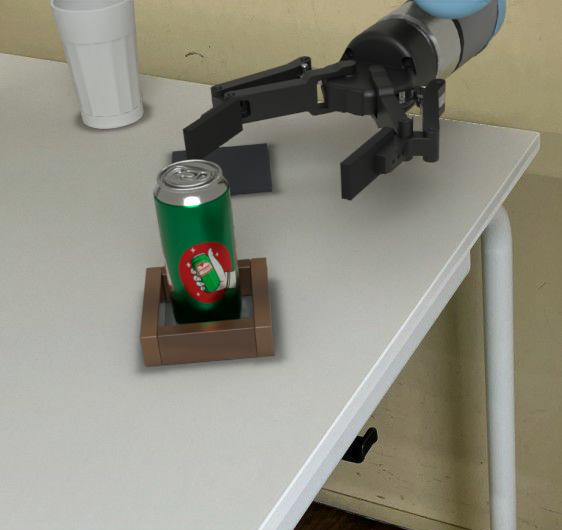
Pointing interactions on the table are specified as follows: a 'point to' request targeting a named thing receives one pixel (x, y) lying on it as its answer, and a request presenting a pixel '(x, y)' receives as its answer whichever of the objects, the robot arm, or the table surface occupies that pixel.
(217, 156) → the mat
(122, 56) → the cup
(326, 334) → the table surface
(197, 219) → the soda can
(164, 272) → the collar stand
